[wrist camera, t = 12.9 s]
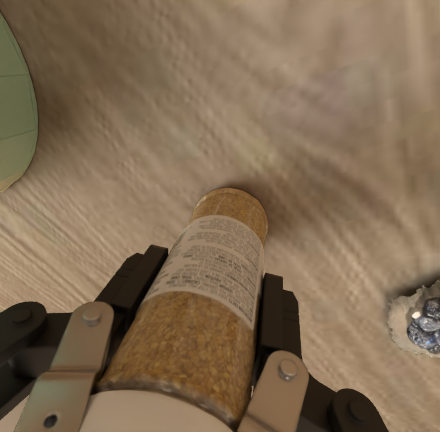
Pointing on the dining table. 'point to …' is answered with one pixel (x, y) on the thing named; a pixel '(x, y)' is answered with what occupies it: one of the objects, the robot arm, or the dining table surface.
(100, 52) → the dining table surface
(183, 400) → the spice jar
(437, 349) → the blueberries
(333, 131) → the dining table surface
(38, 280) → the dining table surface
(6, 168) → the pot
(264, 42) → the dining table surface
